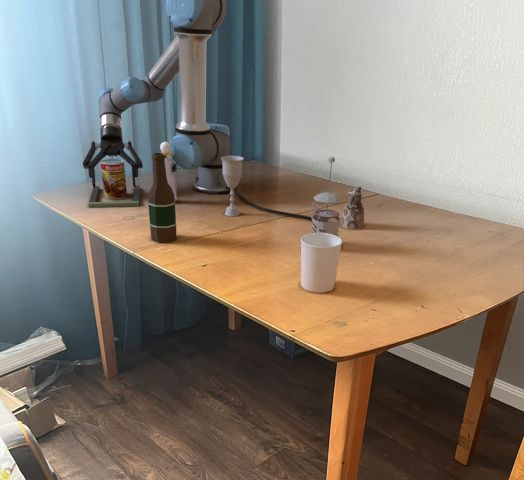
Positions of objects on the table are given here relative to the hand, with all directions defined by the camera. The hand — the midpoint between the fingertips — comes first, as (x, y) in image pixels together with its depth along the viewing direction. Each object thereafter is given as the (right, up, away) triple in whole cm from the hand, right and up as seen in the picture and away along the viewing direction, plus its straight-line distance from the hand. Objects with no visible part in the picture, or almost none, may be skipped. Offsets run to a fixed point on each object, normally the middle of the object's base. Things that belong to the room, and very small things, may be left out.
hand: (114, 185), depth 190 cm
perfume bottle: (+19, -5, +2) cm, 20 cm away
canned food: (-1, -2, +6) cm, 7 cm away
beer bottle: (+23, -25, -29) cm, 44 cm away
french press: (+69, -26, -29) cm, 80 cm away
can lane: (-1, -3, +4) cm, 5 cm away
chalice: (+41, -12, -7) cm, 44 cm away
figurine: (+80, -17, -14) cm, 83 cm away
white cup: (+65, -41, -54) cm, 94 cm away
